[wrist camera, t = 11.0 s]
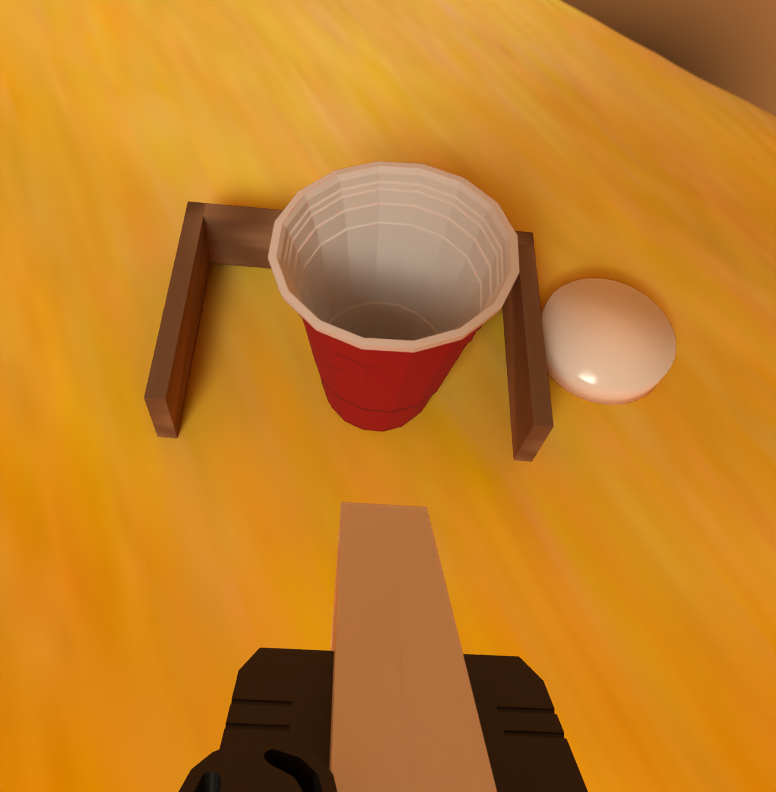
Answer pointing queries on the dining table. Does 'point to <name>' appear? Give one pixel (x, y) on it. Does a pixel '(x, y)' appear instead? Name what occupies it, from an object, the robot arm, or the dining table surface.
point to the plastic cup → (391, 281)
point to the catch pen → (249, 246)
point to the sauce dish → (606, 341)
